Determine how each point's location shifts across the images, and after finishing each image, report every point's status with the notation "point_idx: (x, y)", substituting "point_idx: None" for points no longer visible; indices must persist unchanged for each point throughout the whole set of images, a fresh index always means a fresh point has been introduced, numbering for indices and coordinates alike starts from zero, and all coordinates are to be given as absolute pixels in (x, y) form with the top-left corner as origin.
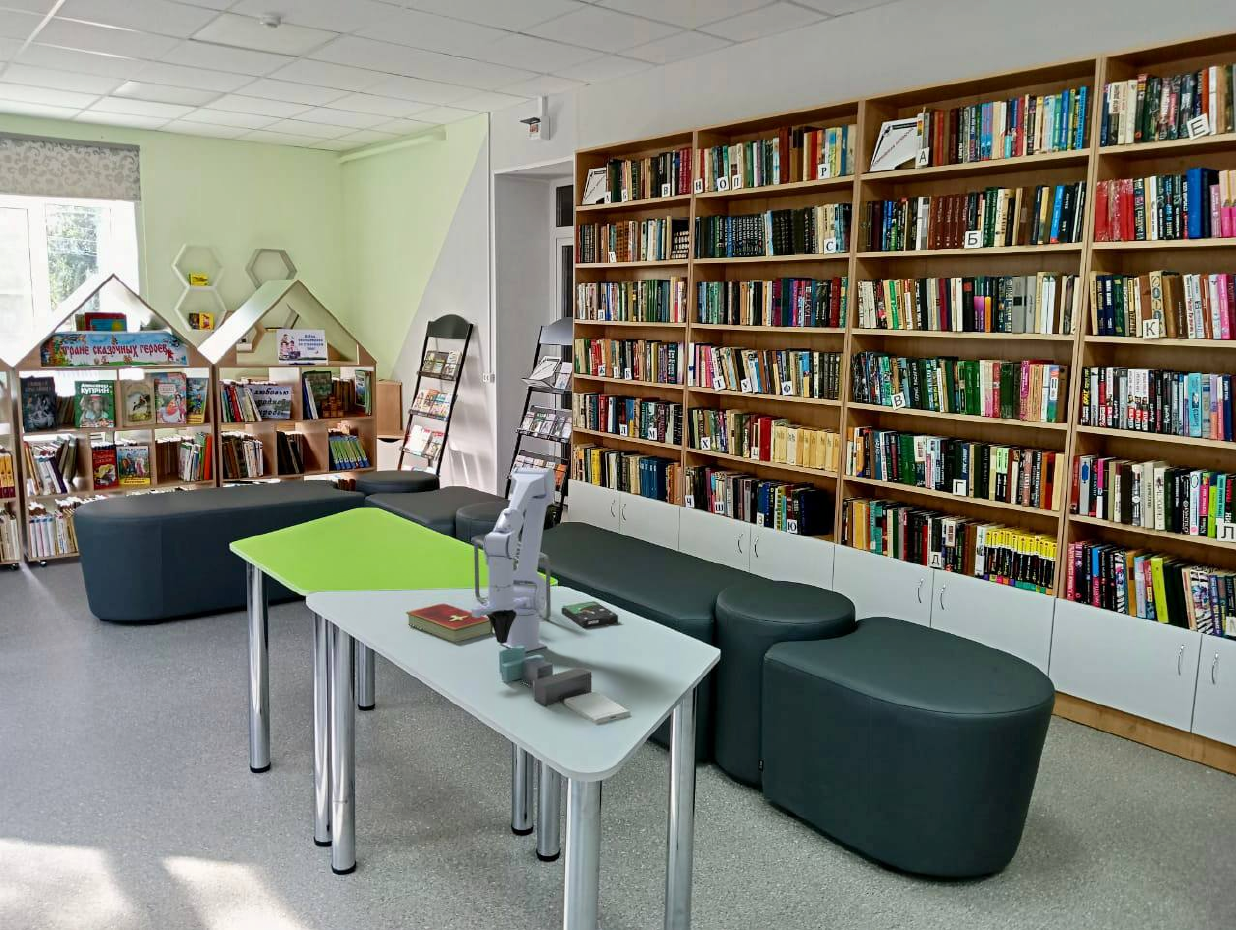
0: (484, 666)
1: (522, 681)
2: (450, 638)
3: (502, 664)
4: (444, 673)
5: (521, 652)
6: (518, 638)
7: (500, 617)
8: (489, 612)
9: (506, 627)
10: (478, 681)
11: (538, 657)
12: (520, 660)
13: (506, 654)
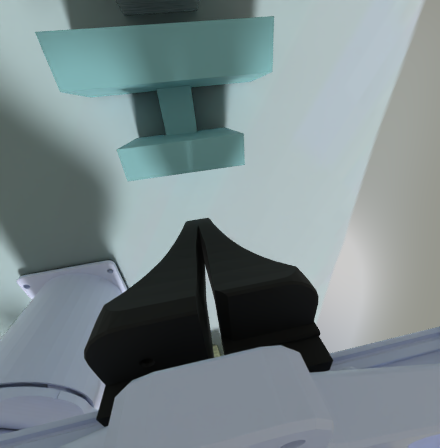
0: (231, 221)
1: (197, 5)
2: (219, 355)
3: (270, 66)
4: (322, 222)
5: (143, 143)
6: (100, 303)
7: (297, 283)
8: (359, 366)
9: (195, 253)
10: (301, 126)
11: (72, 44)
12: (178, 63)
13: (222, 134)
